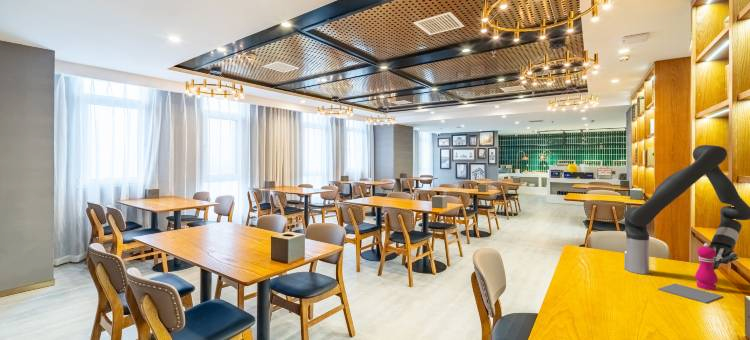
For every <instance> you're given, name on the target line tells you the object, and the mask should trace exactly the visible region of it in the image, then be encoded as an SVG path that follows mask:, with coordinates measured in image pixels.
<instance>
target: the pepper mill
mask: <svg viewBox="0 0 750 340" xmlns="http://www.w3.org/2000/svg"><path fill="white" fill-rule="evenodd" d="M709 245H710V244H709V243H707V242H705V243H704V244H703V246H700V247H698V248H697V250H696V253H697V256H698V260H699V266H698V268H697V270H696V272H695V274H694V275H695V276H694V278H695V279H696V287H698V288H699V289H701V290H706V291H707V290H708V291H715V290H717V285H716V283H718V282H719V278H718V275H717V273H716V270H714V269H713V262H714V257H715V256H716V252H715V250H714V249H712V248H710V247H709Z"/></svg>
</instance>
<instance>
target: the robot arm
mask: <svg viewBox="0 0 750 340" xmlns="http://www.w3.org/2000/svg"><path fill="white" fill-rule="evenodd" d="M727 156H728V151H727V149H726V148H724V147H723V146H720V145H713V144H712V145H709V144H702V145H698V146H696V147H695V148H694V149H693V151H692V158H693V159H694V161H693V162H692V163H691V164H689V165H688V166H686V167H684V168H683V169H680V170H678V171H676V172H674V173H673V174H670V175H669V176H668V177H666V178H665V179H664V180H663V181H662V182H661V183H659V184H658V186H657V187H656V188H655V189H654V191H653V193H652V194H651V196H650V197H649V198H648V200H646V201H645V202H644V203H643V204H642V205H640V206H639V207H638V206H631V207H629V208H627V210H626V211H625V212H624V213H625V214H624V231H625V235H626V238H625V239H626V241H625V242H626V247H625V248H626V250H625V251H624V254H623V255H624V259H623V261H624V262H623V263H624V264H623V265H624V266H623V267H624V270H626V271H627V272H630V273H634V274H638V275H647V274H650V234H649V232H648V229H647V225H649V224H650V223H652V221H653V220H654V219H655V218H656V217H657V216H658V215H659V213H661V212H662V211H663V210H664V209H665V208H666V207H667V206H669V205H670V204H672V203H673V202H674V201H675V200H676V199H677V198H679V197H680V196H681V195H682V194H684V193H685V192H686V191H687V190H688V189H689V188H691V186H693V185H694V184H695V183H696V182H697V181H699V180H700V179H701V178H702V177H704V176H706V178H707V179H708V180H709V182H710V184H711V186H712V188H713V190H714V192H715V194H716V196H717V198H718V200H719V201H720V203H722V204H725V205H726V204H727V205H726V206H725V205H724V206H723V207H721V208H720V221H719V222H720V223H719V225H718V228H717V229H716V231H715V233H714V235H713V236H712V239H711V240H710V244H709V247H710V248H712V249H714V250H715V252H716V256H715V257H714V262H713V269H714V271H716V270H718V269H719V266H720V265H721V264H724V265H726V264H729V263H731V262H734V261H736V260H738V259H739V256H738V254H737V253H734V249H735V246H736V244H737V242H738V239H739V235H740V233H741V230H742V228H743V227H742V223H741V222H739V221H748V220H750V206H749V204H747V203H746V202H745V201H744V199H743V198H742V197H741V196H740V195H739V192H738V191H737V188H736V187H735V185H734V183H733V182H732V180H731V179H730V178H728V176H727V175H726V174H725V173H724V172H723V171H722V169H721V167H720V165H721V164H723V162H724V161H725V160H726V158H727ZM731 206H734V207H731ZM733 219H736V220H733Z"/></svg>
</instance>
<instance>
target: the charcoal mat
mask: <svg viewBox="0 0 750 340" xmlns="http://www.w3.org/2000/svg"><path fill="white" fill-rule="evenodd" d="M658 291H661V292H665V293H668V294H671V295H675V296H679V297H682V298H685V299H689V300H693V301H696V302H700V303H703V304H709V303H711V302H714V301H717V300H719V299H723V298H724V295H721V294H717V293H714V292H710V291H707V290H704V289H700V288H699V289H698V288H695V287H691V286H686V285H683V284H679V283H672V284H668V285H665V286H662V287H659V288H658Z"/></svg>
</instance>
